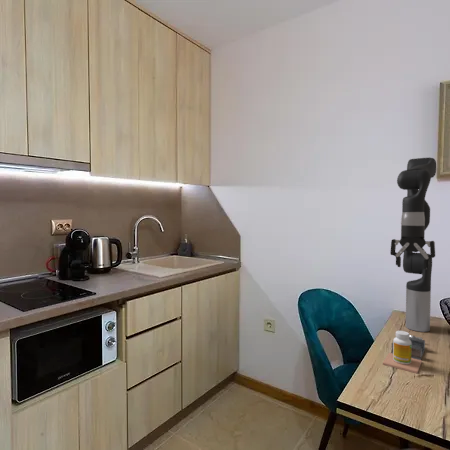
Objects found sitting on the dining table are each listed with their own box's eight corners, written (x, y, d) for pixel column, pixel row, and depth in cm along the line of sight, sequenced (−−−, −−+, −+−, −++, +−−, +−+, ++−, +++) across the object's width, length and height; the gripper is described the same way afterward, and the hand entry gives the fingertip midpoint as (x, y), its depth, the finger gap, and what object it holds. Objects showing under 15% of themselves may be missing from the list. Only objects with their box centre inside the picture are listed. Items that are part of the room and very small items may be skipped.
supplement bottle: (413, 365, 105) (413, 336, 105) (394, 363, 107) (395, 334, 106) (409, 359, 110) (409, 330, 110) (391, 356, 112) (392, 329, 112)
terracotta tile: (389, 354, 115) (389, 352, 115) (421, 362, 109) (421, 360, 109) (382, 364, 108) (382, 362, 107) (417, 373, 101) (417, 371, 101)
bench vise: (400, 338, 130) (400, 330, 130) (427, 344, 124) (427, 335, 124) (391, 353, 116) (391, 343, 116) (420, 360, 111) (420, 350, 111)
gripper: (436, 224, 118) (435, 268, 119) (393, 223, 127) (392, 264, 127) (434, 225, 112) (433, 271, 113) (389, 224, 121) (388, 267, 121)
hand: (411, 267), depth 120 cm, fingers open, 8 cm apart
